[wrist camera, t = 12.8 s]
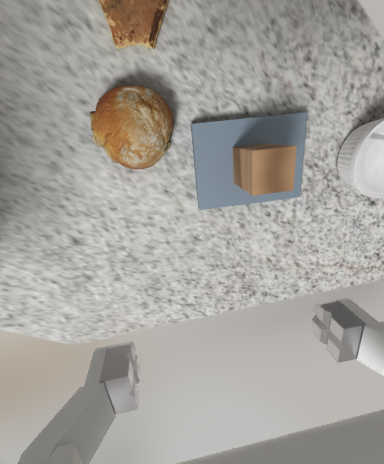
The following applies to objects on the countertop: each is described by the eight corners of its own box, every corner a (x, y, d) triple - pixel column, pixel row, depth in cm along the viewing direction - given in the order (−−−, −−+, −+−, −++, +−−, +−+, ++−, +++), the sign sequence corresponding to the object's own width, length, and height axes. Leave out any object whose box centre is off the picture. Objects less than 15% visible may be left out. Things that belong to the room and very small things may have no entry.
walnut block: (233, 183, 35) (252, 195, 28) (232, 147, 33) (252, 150, 26) (266, 179, 35) (293, 190, 28) (267, 143, 33) (296, 145, 26)
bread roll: (154, 167, 38) (177, 179, 32) (84, 158, 32) (97, 170, 26) (163, 99, 34) (192, 97, 28) (88, 75, 29) (104, 66, 23)
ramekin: (394, 102, 35) (431, 96, 30) (399, 171, 39) (433, 176, 34) (323, 136, 36) (348, 137, 31) (336, 201, 40) (360, 210, 35)
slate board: (198, 207, 37) (199, 209, 36) (190, 124, 33) (192, 123, 31) (295, 194, 38) (300, 197, 37) (301, 112, 34) (307, 111, 32)
